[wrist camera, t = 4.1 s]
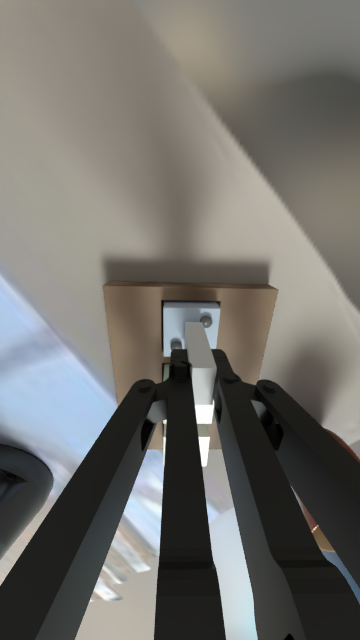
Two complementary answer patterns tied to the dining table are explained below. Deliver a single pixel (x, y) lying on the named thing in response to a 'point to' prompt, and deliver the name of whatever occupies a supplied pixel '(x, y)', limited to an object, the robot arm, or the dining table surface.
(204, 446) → the tile one
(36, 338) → the dining table surface
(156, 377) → the board
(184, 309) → the tile three
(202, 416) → the tile two
